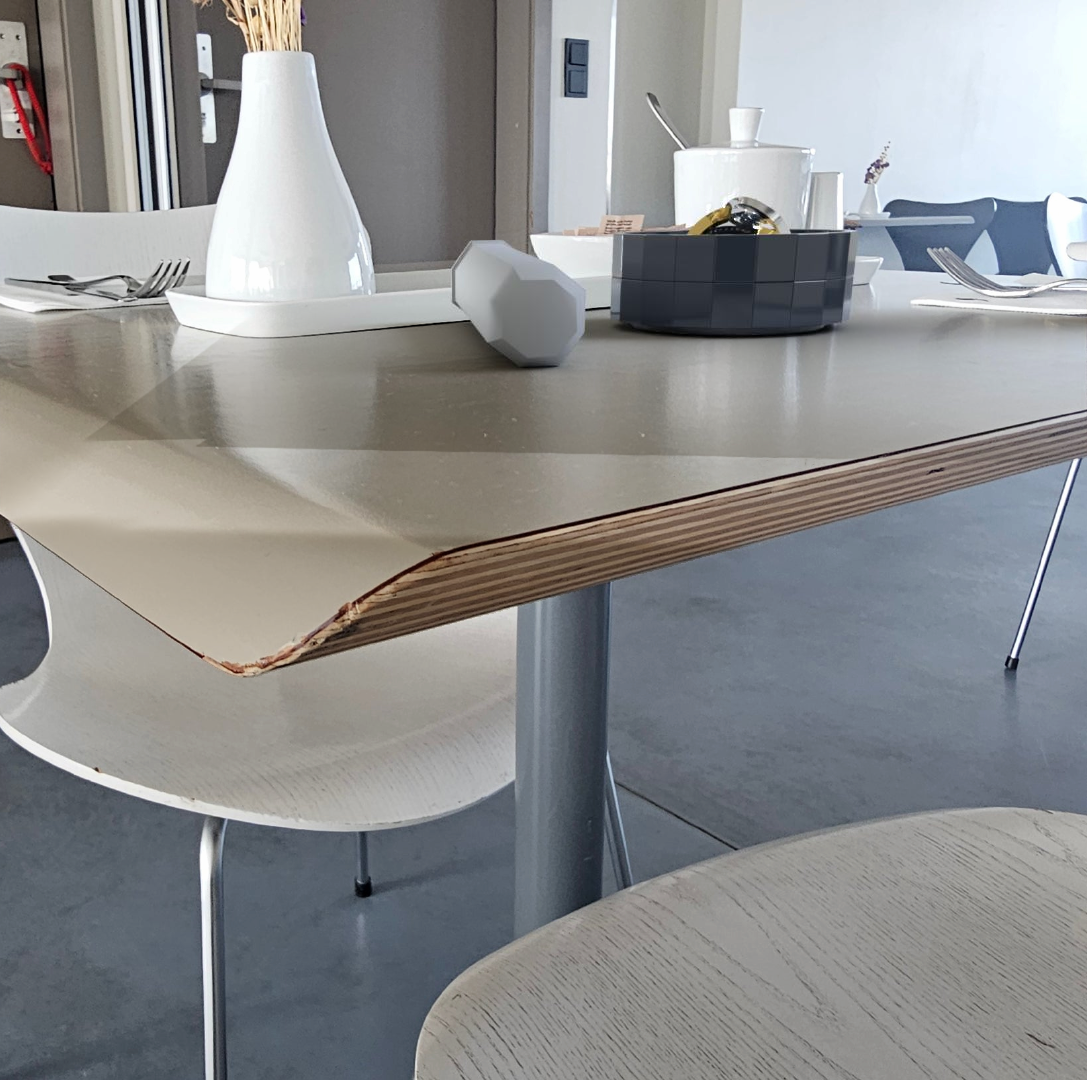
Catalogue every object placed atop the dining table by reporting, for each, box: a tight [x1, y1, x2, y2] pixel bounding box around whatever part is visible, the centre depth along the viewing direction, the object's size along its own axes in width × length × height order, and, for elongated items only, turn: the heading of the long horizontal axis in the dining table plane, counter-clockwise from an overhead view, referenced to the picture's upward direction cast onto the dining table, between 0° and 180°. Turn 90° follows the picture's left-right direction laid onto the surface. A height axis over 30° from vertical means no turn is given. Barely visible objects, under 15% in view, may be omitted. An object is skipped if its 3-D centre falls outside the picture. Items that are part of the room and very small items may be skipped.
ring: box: [687, 196, 791, 235], centre depth 74 cm, size 7×3×8 cm
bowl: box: [609, 228, 859, 337], centre depth 71 cm, size 14×14×6 cm
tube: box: [450, 239, 587, 368], centre depth 65 cm, size 5×5×25 cm
